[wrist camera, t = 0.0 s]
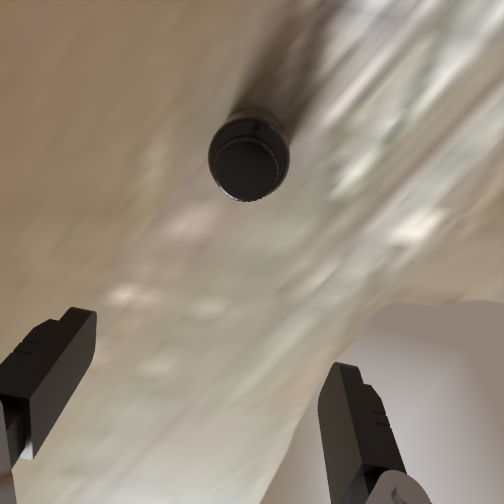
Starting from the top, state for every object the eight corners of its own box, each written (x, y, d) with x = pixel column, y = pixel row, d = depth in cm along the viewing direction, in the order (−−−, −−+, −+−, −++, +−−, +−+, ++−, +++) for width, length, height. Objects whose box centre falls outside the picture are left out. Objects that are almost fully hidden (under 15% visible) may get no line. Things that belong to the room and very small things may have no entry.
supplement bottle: (239, 92, 36) (227, 102, 25) (299, 129, 37) (312, 153, 26) (208, 155, 38) (185, 187, 28) (264, 187, 40) (263, 230, 29)
